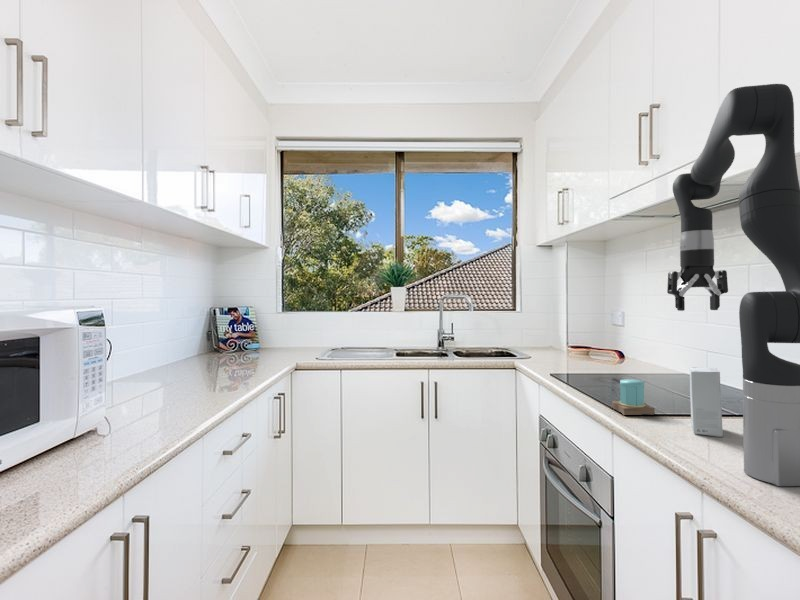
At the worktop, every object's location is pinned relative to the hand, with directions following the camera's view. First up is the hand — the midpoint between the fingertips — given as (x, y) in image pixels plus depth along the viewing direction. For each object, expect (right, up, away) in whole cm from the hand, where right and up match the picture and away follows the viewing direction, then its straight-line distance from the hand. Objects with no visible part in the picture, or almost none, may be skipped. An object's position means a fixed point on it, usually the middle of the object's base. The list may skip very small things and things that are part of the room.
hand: (697, 310), depth 122 cm
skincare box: (-6, -29, -12) cm, 32 cm away
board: (-14, -28, +6) cm, 32 cm away
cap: (-14, -26, +6) cm, 30 cm away
